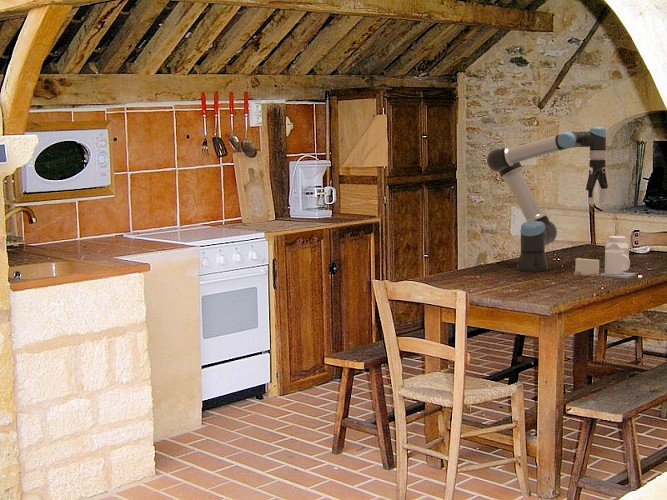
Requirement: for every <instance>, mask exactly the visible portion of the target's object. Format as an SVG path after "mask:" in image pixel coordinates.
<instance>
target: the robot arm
mask: <svg viewBox="0 0 667 500" xmlns="http://www.w3.org/2000/svg"><path fill="white" fill-rule="evenodd" d="M606 145H607V129H606V128H605V127H601V126H599V127H596V126H595V127H590V128H589V131H566V132H562V133H561V134H557V135H553V136H549V137H546V138H543V139H540V140H536V141H535V140H534V141H532V142H531V141H530V142H528V143H525V144H521V145H518V146H515V147H511V148H510V147H502V148H494V149H493V150H491V151H490V152H489V153H488V154H487V156H486V157H487V158H486V163H487V166H488V168H489V169H490V170H491V171H493V172H495V173H496V172H498V174H499V176H500V178H501V179H504V180H505V181H506V183H507V185H508V186H509V188H510V191H511V193H512V195H513V197H514V198H515V200H516V203H517V205H518V207H519V208H520V210H521V213H522V214H523V216H524V219H525V220H526V221H525V222H523V223H522V224H521V225H520V255H519V258H518V260H517V264H516V269H517V271H520V272H521V271H522V272H544V271H548V270H549V264H548V260H547V257H546V255H545V254H546V252H545V251H546V250H545V249H546V246H548V245H550V244H551V243H553V242H554V241H555V239H556V238H557V236H558V228H557V226H556V225H555V223H553V222H552V221H550V218H549V217H548V215H547V214H544V213H543V212H542V210H541V208H540V206H539V205H538V202H537V201H536V198H535V196H534V194H533V193H532V190H531V189H530V186H529V185H528V183H527V181H526V179H525V177H524V175H523V173H522V169H523V166H522V164H521V162H523V161H527V160H530V159H534V158H538V157H541V156H545V155H549V154H553V153H555V152H556V153H557V152H559V151H564V150H568V149H572V148H589V161H588V162H589V163H588V164H589V165H588V167H589V168H592V169H589V171H588V178H587V182H586V188H585V190H586V191H587V192H588V193H587V205H594V204H595V190H594V189H595V186H596V184H597V181H598V184H599V187H600V188H599V202H600V203H606V193H607V192H606V190H607V189H608V187H609V185H608V181H607V175H606V174H607V173H606V168H605V167H606V162H607V161H606V155H607V152H606V151H607V150H606V149H607V148H606V147H607V146H606Z"/></svg>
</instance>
